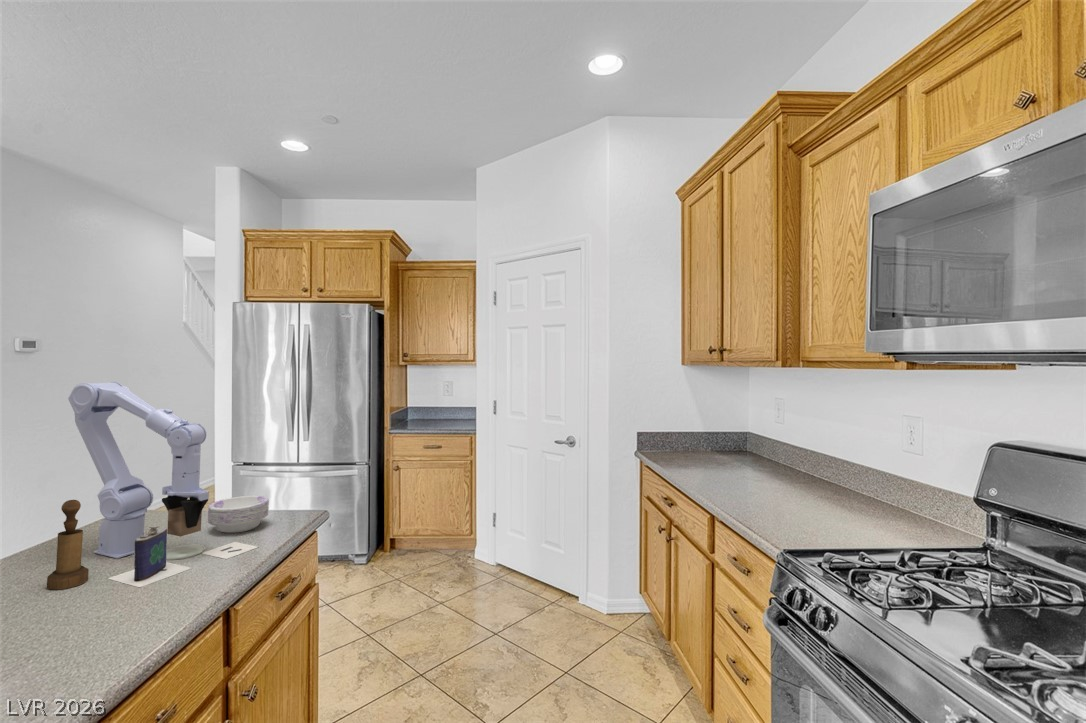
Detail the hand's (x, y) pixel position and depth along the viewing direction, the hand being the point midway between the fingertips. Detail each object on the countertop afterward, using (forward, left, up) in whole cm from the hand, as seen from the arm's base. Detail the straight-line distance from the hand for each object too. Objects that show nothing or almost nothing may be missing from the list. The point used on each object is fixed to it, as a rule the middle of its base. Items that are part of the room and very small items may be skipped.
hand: (184, 525), depth 124 cm
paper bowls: (-5, +19, -7) cm, 21 cm away
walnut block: (0, 0, -2) cm, 2 cm away
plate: (0, 0, -7) cm, 7 cm away
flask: (+6, -11, -7) cm, 14 cm away
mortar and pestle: (-5, -21, -7) cm, 23 cm away
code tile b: (+9, +6, -7) cm, 13 cm away
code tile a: (+6, -11, -7) cm, 14 cm away
